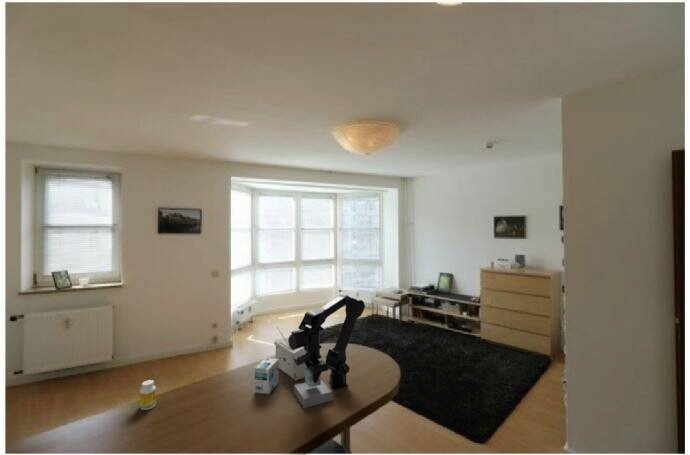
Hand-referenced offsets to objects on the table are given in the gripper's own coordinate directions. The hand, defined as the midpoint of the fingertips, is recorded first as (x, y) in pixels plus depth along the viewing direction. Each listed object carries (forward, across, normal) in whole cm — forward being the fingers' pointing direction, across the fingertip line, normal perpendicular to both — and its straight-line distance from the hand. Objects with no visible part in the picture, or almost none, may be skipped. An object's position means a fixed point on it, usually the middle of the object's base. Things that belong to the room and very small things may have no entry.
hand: (312, 379), depth 135 cm
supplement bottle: (+7, -23, -60) cm, 65 cm away
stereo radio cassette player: (+8, -25, -1) cm, 26 cm away
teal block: (+2, 0, 0) cm, 2 cm away
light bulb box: (+7, -16, -15) cm, 23 cm away
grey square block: (+8, 0, 0) cm, 8 cm away
